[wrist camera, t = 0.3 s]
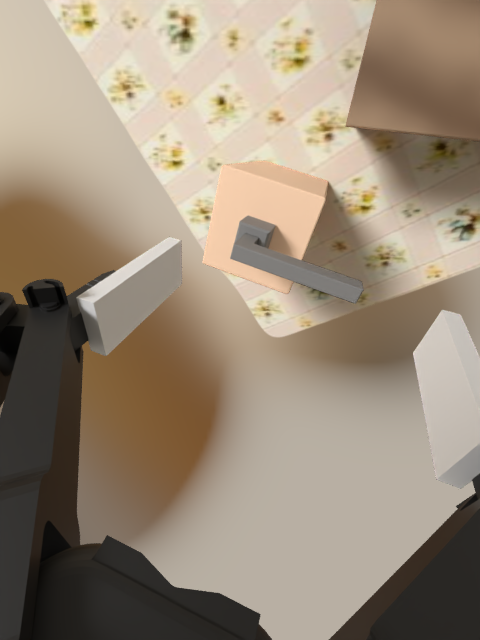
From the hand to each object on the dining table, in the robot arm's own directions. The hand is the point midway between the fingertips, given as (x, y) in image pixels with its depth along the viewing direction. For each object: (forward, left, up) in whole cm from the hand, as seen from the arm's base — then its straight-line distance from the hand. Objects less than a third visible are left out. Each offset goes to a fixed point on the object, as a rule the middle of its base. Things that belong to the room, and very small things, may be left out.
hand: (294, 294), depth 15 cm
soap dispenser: (0, -2, -27) cm, 27 cm away
